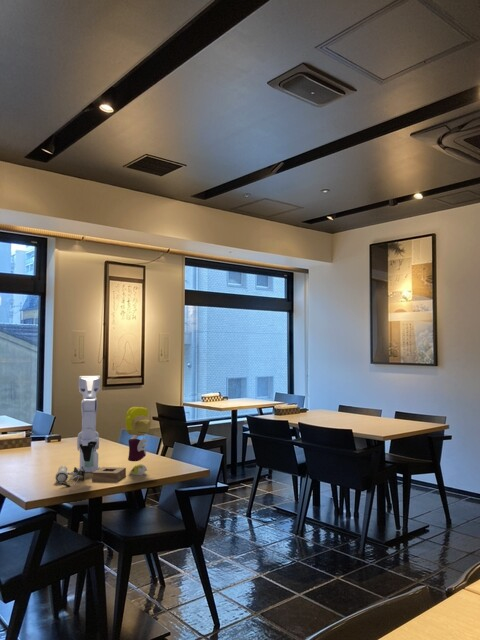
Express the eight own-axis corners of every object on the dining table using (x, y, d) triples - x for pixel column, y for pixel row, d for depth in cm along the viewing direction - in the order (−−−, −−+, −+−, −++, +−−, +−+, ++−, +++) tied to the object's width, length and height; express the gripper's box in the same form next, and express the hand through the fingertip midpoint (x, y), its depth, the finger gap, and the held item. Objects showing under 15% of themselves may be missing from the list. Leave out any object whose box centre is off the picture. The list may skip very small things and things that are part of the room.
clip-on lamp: (83, 493, 207) (84, 474, 224) (84, 478, 206) (85, 460, 223) (52, 493, 203) (56, 473, 220) (54, 478, 203) (57, 459, 220)
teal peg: (85, 465, 214) (85, 444, 214) (94, 465, 214) (93, 443, 215) (83, 467, 210) (83, 445, 211) (92, 467, 210) (92, 445, 211)
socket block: (102, 474, 226) (102, 467, 226) (125, 475, 225) (125, 467, 225) (92, 480, 215) (92, 472, 216) (116, 481, 214) (116, 473, 214)
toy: (149, 476, 222) (150, 408, 225) (122, 477, 221) (123, 408, 223) (150, 466, 244) (151, 403, 247) (125, 467, 242) (127, 404, 245)
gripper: (95, 429, 206) (94, 463, 205) (101, 425, 221) (100, 456, 220) (77, 430, 206) (76, 464, 205) (84, 425, 220) (84, 457, 219)
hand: (88, 460), depth 212 cm, fingers closed on teal peg, 4 cm apart
